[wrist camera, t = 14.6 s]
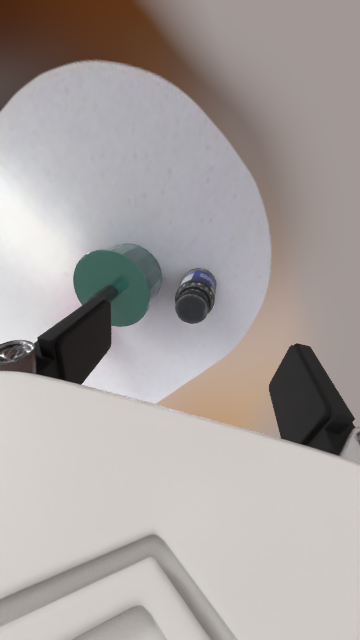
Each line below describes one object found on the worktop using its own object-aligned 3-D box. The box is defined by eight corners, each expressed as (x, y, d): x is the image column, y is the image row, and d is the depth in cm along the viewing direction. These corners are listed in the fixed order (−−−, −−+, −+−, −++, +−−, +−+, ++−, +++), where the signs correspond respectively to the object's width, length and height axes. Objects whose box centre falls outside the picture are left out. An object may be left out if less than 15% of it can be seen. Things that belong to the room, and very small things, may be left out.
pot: (165, 250, 37) (151, 262, 30) (158, 308, 43) (144, 329, 35) (103, 237, 38) (74, 245, 30) (104, 295, 44) (81, 314, 36)
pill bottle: (222, 286, 38) (222, 313, 29) (197, 305, 41) (190, 335, 31) (201, 260, 37) (193, 280, 27) (176, 281, 39) (161, 306, 30)
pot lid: (155, 258, 30) (143, 268, 25) (148, 330, 36) (136, 350, 31) (73, 240, 31) (46, 247, 26) (80, 314, 37) (59, 330, 32)
